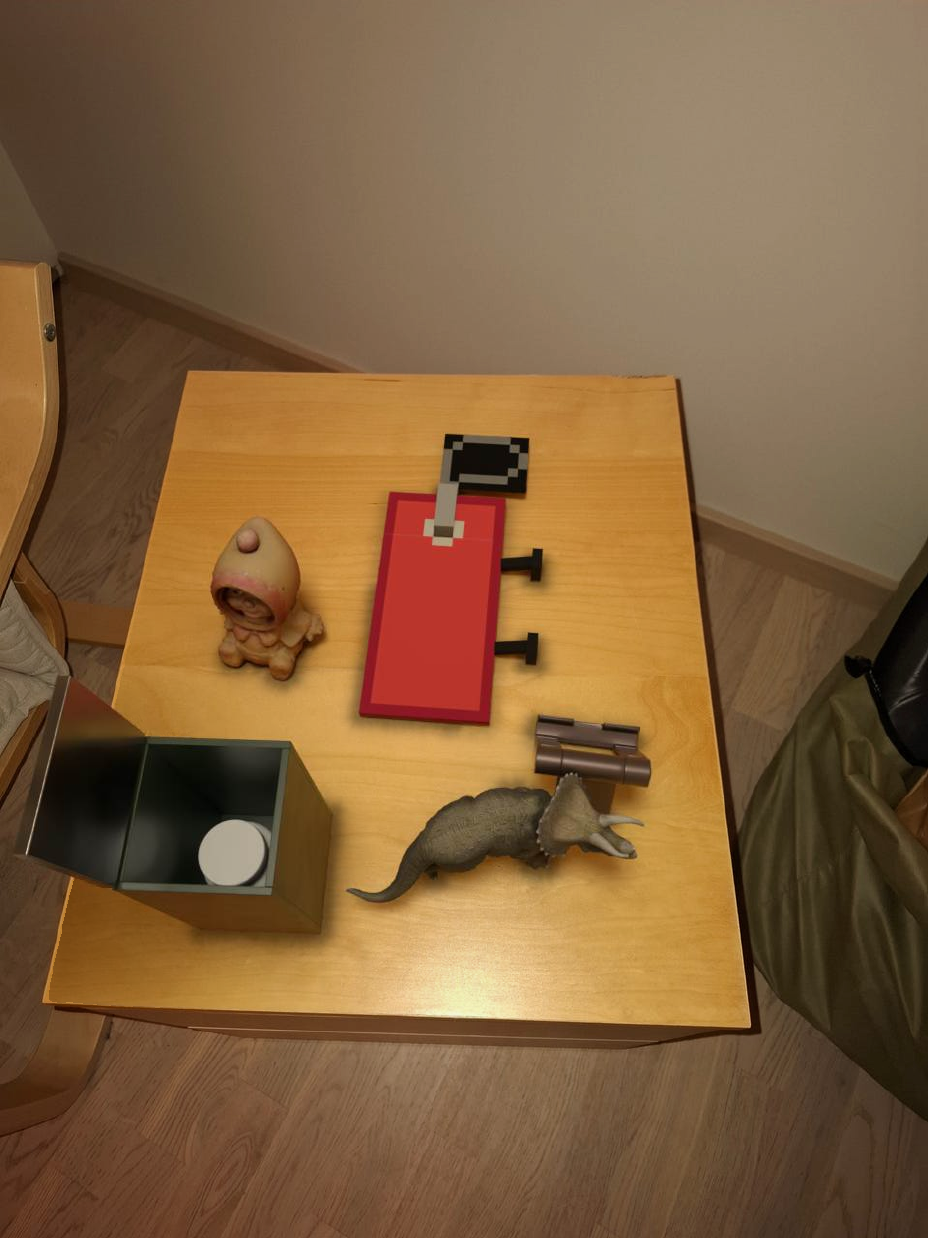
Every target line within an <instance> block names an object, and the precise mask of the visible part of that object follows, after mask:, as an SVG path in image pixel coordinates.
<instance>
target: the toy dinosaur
mask: <svg viewBox="0 0 928 1238" xmlns="http://www.w3.org/2000/svg"><path fill="white" fill-rule="evenodd" d="M554 791H555V792H554ZM554 791H553V794H552V795H551V793H550V792H549V791H548V790H546V789H544V788H538V787H537V788H528V787H527V786H516V787H514V788H510V787H494V788H489V789H487V790H484V791H481V792H480V793H478V794H477V795H476V796H475V797H474V796H472V795H469V794H468V795H466V794H465V795H463V796H461V797H460V798H458V799H455V800H453V801H449V802H448V803H447V804H445V805H443V806H442V807H441V808H439V809H438V810H437V811H436V813H434V815H432V816H431V817H430V819H428V820H427V821H426V823H425V826H424V828H423V829H422V830H421V831H420V832H419V833H418V834H417V835H416V838H415V839H414V840H413V841H412V842H411V843H410V844H409V845H408V847H406V849H405V851H404V854H403V855H402V858H401V861H400V863H399V865H398V869H397V872H396V875H395V878H394V879H393V881H392V882H391V883H390V885H389V886H387V887H386V888H384V889H383V890H381V891H377V892H370V891H365V890H362V889H359V888H354V887H348V888H347V889H345V892H347V893H348V894H351V895H353V896H355V897H357V898H359V899H361V900H363V901H366V902H368V903H373V904H374V903H375V904H384V903H385V904H386V903H391V902H392V901H395V900H397V899H399V898H400V897H402V896H403V895H404V894H406V893H407V892H408V891H410V890H411V888H412V887H413V886H414V885H415V884H416V883H417V882H418V881H419V879H420V877H421V876H422V874H423V873H426V874H427V876H428V877H429V879H431V880H432V881H435V882H437V881H438V879H439V878H438V877H439V876H438V872H440V871H444V872H447V873H450V874H451V873H452V874H453V873H455V874H456V873H457V874H463V873H468V872H471V871H473V870H475V869H476V868H477V867H478V866H479V865H481V864H483V863H484V862H485V860H486V858H487V856H488V857H490V858H503V857H509V858H511V859H513V860H517V861H519V862H521V863H526V866H527V867H529V868H532V869H533V870H534V871H537V870H538V869H539V868H543V869H549V868H550V866H551V864H550V862H549V860H550V859H553V858H555V857H556V856H561V857H564V858H565V856H566V853H567V852H568V851H569V850H570V849H571V848H573V846H577V847H579V850H580V852H582V853H584V854H588V853H593V854H602V855H606V856H607V857H615V858H619V859H623V860H635V859H636V858H638V853H637V851H636V847H635V846H634V845H633V843H632V842H631V841H630V840H628V839H627V838H624V837H623V836H621V835H619V834H618V833H616V832H615V831H614V830H613V829H612V828H611V826H616V825H624V824H631V825H637V826H640V827H643V828H645V827H646V825H645V823H644V822H643V821H641V820H639V819H637V818H634V817H632V816H627V815H624V814H618V813H617V814H616V813H614V814H613V813H611V814H610V813H609V814H605V815H604V814H601V813H598V812H597V811H596V810H595V809H594V808H593V807H592V805H591V803H590V801H591V797H590V796H589V795H588V794H587V792H586V785H584V784H583V782H582V778H581V777H580V778H578V775H577V773H576V774H574V775H573V773H570V774H569V775H568V774H566V775H565V776H564V777H563V778H561V779H560V781H559V783H558V786H557V787H556V789H555V788H554Z"/></svg>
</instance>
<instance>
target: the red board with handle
mask: <svg viewBox="0 0 928 1238" xmlns="http://www.w3.org/2000/svg"><path fill="white" fill-rule="evenodd" d="M529 449H530V437H516V436H497V435H481V434H480V435H478V434H460V433H445V434H444V442H443V449H442V459H441V467H440V477H439V483H438V484H437V493H419V492H404V491H403V492H401V491H389V493H388V498H387V507H386V514H385V521H384V528H383V535H382V543H381V549H380V556H379V562H378V563H379V564H378V571H377V579H376V585H375V592H374V599H373V608H372V614H371V622H370V629H369V634H368V635H369V636H368V642H367V650H366V658H365V664H364V672H363V677H362V678H363V679H362V687H361V694H360V701H359V707H358V715H359V717H367V718H379V719H393V720H407V721H419V722H420V721H421V722H422V721H423V722H433V723H450V724H461V725H462V724H463V725H475V726H476V725H477V726H479V725H480V726H490V720H491V708H492V694H493V679H494V667H495V666H494V665H495V656H515V655H516V656H517V655H525V665H531V666H536V665H537V660H538V653H539V652H538V651H539V636H540V635H539V632H530V631H529V632H527V638H526V639H522V640H521V639H520V640H519V639H518V640H497V641H496V639H497V627H498V615H499V614H498V612H499V601H500V600H499V599H500V586H501V573H504V572H505V573H508V572H524V571H525V572H526V571H530V579H529V580H530V582H541V580H542V573H543V572H542V570H543V556H544V548H537V547H536V548H535V547H533V548H532V552H531V555H529V556H514V557H503V547H504V533H505V522H506V521H505V520H506V506H507V497H491V496H475V495H474V496H471V495H459V491H469V492H470V491H471V492H487V493H488V492H489V493H504V494H506V493H507V494H520V495H521V494H523V495H525V494H527V483H528V466H529V452H530V451H529Z"/></svg>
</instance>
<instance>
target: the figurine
mask: <svg viewBox="0 0 928 1238" xmlns="http://www.w3.org/2000/svg"><path fill="white" fill-rule="evenodd" d="M297 559H298V558H297V557H296V554H295V553H294V550H293V549H292V547H291V545H290V544H289V543H288V541H287V539H285V536H284V535H282V533H281V532H280V531H279V529H278V528H277V527H276V526H275V525H274V524H273V523H272V521H270V520H269V519H267V518H265V517H263V516H257V515H256V516H252V517H250V518H249V519H248V520H246V521H244V523H243V524H241V525H240V527H239V528H238V529H237V530H236V531H235V532H234V533H233V534H232V536H231V538H230V539H229V540H228V542H227V544H226V545H225V547H224V548H223V551H222V552H221V553H220V555H218V557H217V559H216V562H215V564H214V568H213V571H212V572H211V576H212V578H211V582H210V585H209V588H210V593H211V598H212V600H213V603H214V606H216V608H217V609H218V610H219V615H221V616H224V617H226V619H225V620H224V625H223V629H225V631H226V635H225V637H223V638H222V642H221V643H220V644H219V646H218V649H217V654H218V657H219V659H220V660H221V661H222V662H223V663H224V664H226V665H227V666H228V667H231V668H237V667H241V666H243V665H245V664H247V663H246V662H247V661H250V662H252V663H254V664H257V665H263V666H268V671H269V673H270V675H271V676H272V677H273V678H274V679H275V680H276V681H280V682H284V681H286V680H287V679H289V677H291V675H292V673H293V671H294V668H295V666H296V664H297V658H298V656H299V655H300V654H301V652H302V650H303V646H304V643H305V642H306V641H309V642H312V641H314V638H315V637H316V636H321V635H322V634H323V632H324V629H325V627H324V622H323V620H321V619H322V616H321V615H319V614H315V613H314V614H312V613H309V612H308V611H305V609H304V607H303V605H302V604H301V602H300V600H299V599H298V598H297V594H298V592H299V590H300V587H301V583H302V580H301V570H300V565H299V562H298V560H297Z"/></svg>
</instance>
